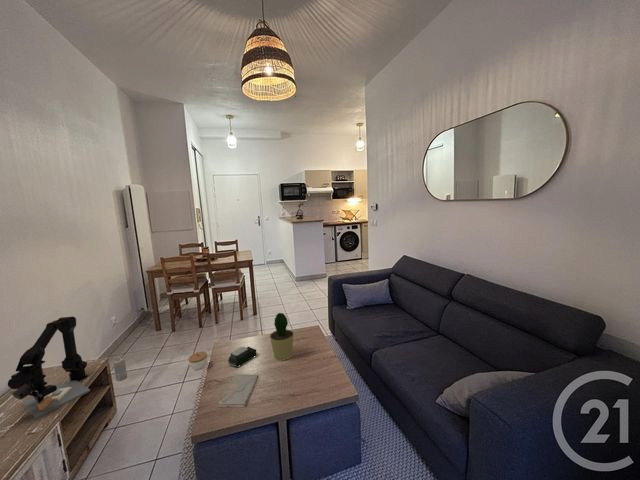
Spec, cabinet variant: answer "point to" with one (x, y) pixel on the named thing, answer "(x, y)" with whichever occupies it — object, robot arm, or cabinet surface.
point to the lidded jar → (198, 360)
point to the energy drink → (120, 369)
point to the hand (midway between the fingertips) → (40, 403)
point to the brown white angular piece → (52, 398)
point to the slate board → (74, 393)
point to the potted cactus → (281, 338)
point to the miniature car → (241, 355)
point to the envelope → (240, 390)
